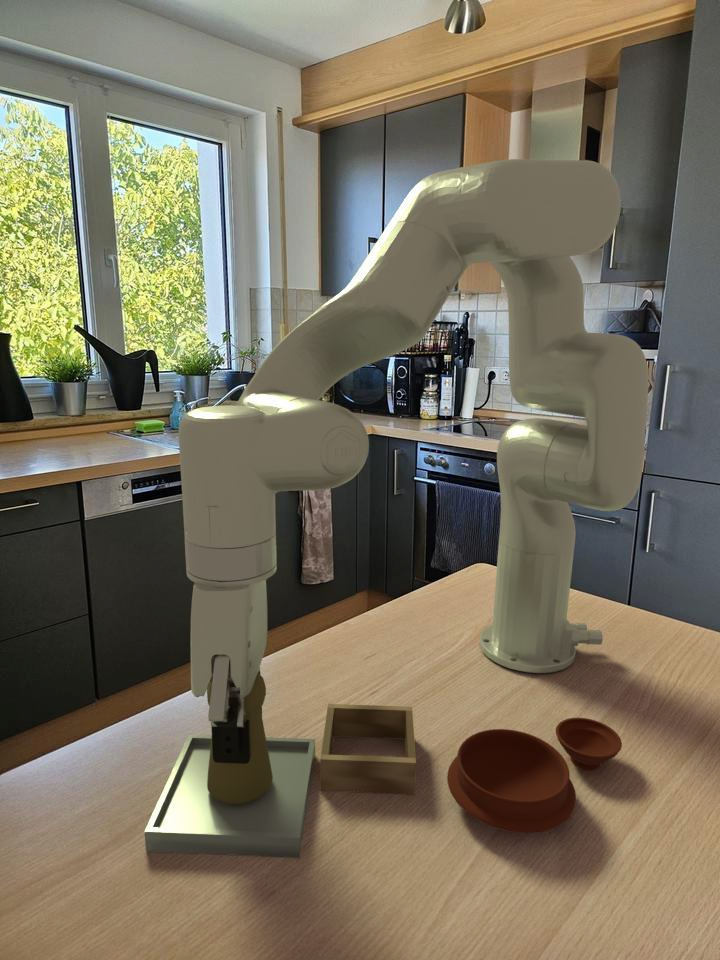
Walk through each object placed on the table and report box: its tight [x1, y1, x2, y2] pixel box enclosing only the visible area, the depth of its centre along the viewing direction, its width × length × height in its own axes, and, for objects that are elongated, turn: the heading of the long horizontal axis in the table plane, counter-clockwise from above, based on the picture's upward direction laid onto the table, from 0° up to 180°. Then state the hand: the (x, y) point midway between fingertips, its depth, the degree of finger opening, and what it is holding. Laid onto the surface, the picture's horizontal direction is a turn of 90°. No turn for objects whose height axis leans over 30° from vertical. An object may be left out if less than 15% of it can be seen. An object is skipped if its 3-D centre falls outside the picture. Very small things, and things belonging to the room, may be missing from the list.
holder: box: [319, 703, 417, 795], centre depth 67 cm, size 9×9×4 cm
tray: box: [144, 734, 316, 859], centre depth 61 cm, size 13×13×2 cm
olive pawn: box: [206, 673, 273, 804], centre depth 60 cm, size 6×6×11 cm
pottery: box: [446, 717, 623, 834], centre depth 64 cm, size 12×20×4 cm, turn 123°
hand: (238, 738), depth 60 cm, fingers closed on olive pawn, 4 cm apart
